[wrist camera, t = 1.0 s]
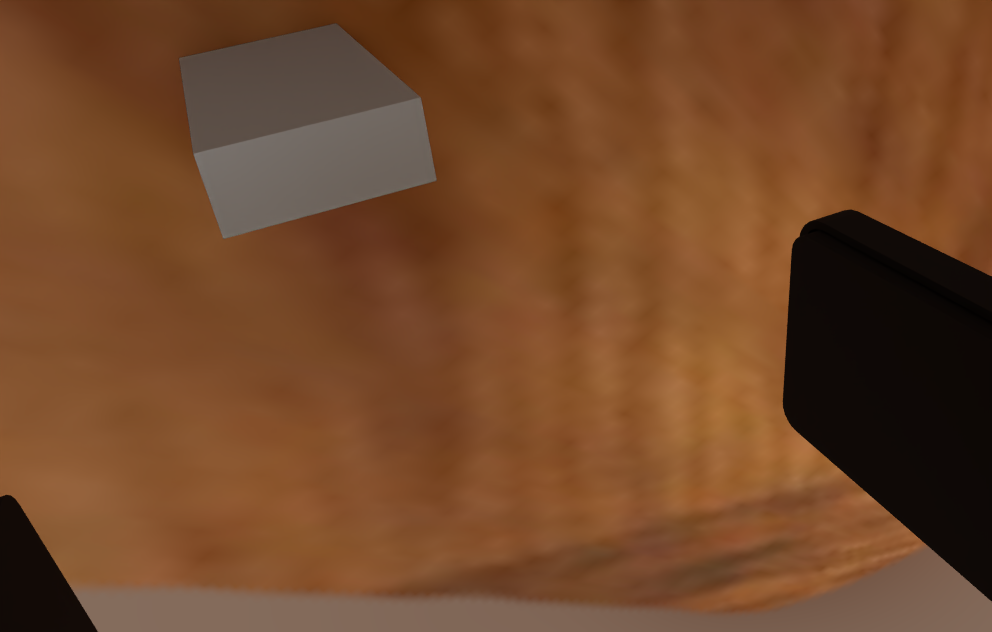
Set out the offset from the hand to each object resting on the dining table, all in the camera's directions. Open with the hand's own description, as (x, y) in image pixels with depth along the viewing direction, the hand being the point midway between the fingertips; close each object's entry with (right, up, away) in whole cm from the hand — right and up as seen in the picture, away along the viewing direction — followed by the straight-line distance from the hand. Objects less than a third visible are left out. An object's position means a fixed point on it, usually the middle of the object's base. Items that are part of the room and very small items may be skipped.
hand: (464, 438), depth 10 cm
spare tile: (-7, +9, +17) cm, 20 cm away
